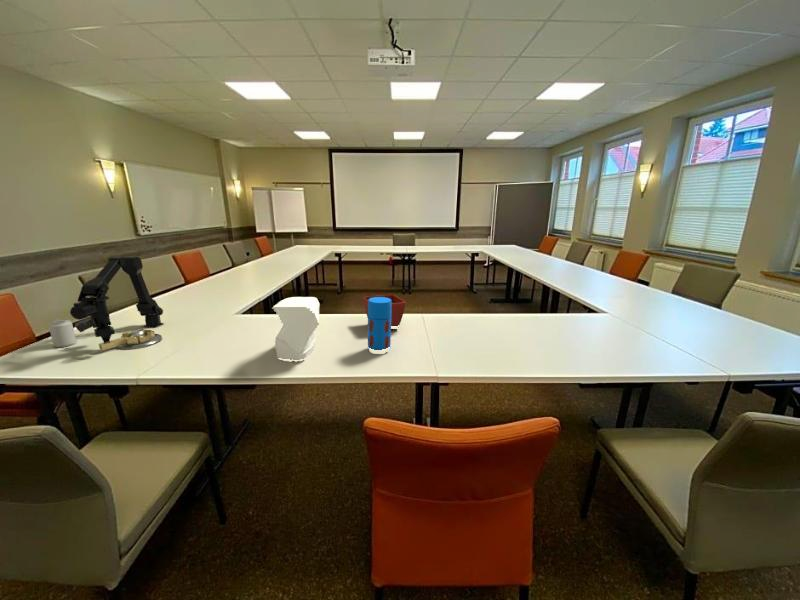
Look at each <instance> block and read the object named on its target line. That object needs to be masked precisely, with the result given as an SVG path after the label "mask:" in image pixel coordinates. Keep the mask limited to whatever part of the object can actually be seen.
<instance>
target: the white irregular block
mask: <svg viewBox="0 0 800 600" xmlns="http://www.w3.org/2000/svg"><path fill="white" fill-rule="evenodd" d="M320 306H321V305H320V302H319V300H318V298H317V297H315V296H291V297H287V298H284V299H282V300H280V301H278V302H277V303H276V304H275V305H273V307H271V309H272V310H273V311H274V312H276V315H278V318H279V320H280V323H281V324H282V327H281V328H280V330H279V331H278V333H277V334H276V337H275V340H274V343H275V344H274V346H275V347H274V348H275V351H276V357H278V358H282V359H290V360H292V359H293V360H300V359H304V358H306V357H307V356H308V355H310V354H311V353H312V354H313V352H314V350H313V348H314V349H315V346H316V343H317V341H316V340H317V339H316V329H317V328H318V326H320ZM312 351H313V352H312ZM278 358H277V359H278Z"/></svg>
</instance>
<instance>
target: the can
mask: <svg viewBox="0 0 800 600" xmlns="http://www.w3.org/2000/svg"><path fill="white" fill-rule="evenodd" d="M48 328H49V332H50V333H49V334H50V336H51V339H52V341H51V342H52V344H53V346H54V347H56V348H67V347H70V346H73V345H75V344H76V342H77V337H76V333H75V329H74V326H73V322H72V321H71V320H70V319H69V318H58V319H54V320H51V321H50V322H49V325H48Z"/></svg>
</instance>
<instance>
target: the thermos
mask: <svg viewBox="0 0 800 600" xmlns="http://www.w3.org/2000/svg"><path fill="white" fill-rule="evenodd" d="M391 306H392V303H391V299H389V298H385V297H373V298H370V299H369V300H368V318H367V348H368V347H369V348H371V349H374V350H382V349H386V348H388V347H390V348H391V344H392V343H391V341H392V339H391V338H392V336H391V335H392V334H391V333H392V330H391Z"/></svg>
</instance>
